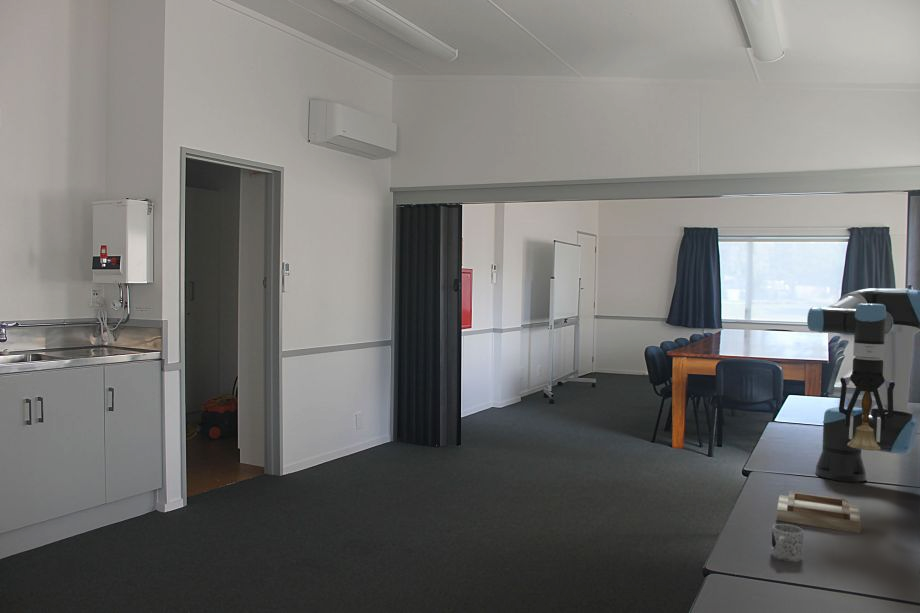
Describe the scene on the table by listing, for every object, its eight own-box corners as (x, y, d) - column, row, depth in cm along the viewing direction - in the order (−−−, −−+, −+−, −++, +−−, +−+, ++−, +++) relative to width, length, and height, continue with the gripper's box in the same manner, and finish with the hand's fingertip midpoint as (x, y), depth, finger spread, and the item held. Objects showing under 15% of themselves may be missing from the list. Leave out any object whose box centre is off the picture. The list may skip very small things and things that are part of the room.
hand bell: (877, 445, 210) (880, 390, 209) (883, 451, 202) (886, 394, 201) (844, 442, 213) (847, 388, 212) (849, 448, 205) (852, 392, 204)
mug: (776, 548, 178) (777, 521, 178) (805, 556, 174) (806, 528, 173) (763, 560, 170) (764, 532, 170) (793, 568, 166) (794, 539, 166)
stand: (779, 505, 213) (779, 489, 213) (857, 516, 204) (858, 500, 204) (776, 520, 199) (777, 503, 199) (860, 533, 191) (861, 516, 190)
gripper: (830, 357, 207) (826, 438, 208) (909, 362, 199) (904, 446, 200) (830, 354, 214) (826, 433, 215) (906, 359, 205) (901, 441, 206)
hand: (864, 439), depth 207 cm, fingers closed on hand bell, 6 cm apart
